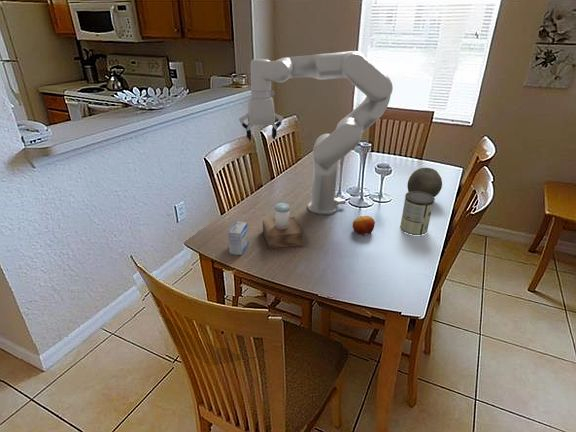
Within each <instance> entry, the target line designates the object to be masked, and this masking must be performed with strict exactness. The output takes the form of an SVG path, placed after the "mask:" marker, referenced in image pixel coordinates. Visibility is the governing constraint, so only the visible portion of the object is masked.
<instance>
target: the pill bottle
mask: <svg viewBox="0 0 576 432" xmlns="http://www.w3.org/2000/svg"><path fill="white" fill-rule="evenodd" d="M290 207H291V205H289V203H286V202H279V203H276V204H275V205H274V215H275V216H274V219H275V227H276V228H277V229H281V230H284V229H287V228H289V217H290V209H291V208H290Z"/></svg>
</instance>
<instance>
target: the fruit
mask: <svg viewBox="0 0 576 432" xmlns="http://www.w3.org/2000/svg"><path fill="white" fill-rule="evenodd" d="M375 224H376V222H375V219H374V218H373V217H372V216H370V215H364V216H357V217H356V218H355V219H354V220H353V222H352V229H353V231H354V232H355V234H357V235H360V236H362V237H364V236H365V235H371V236H373V234H372V233H373V231H374V229H375Z"/></svg>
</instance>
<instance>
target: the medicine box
mask: <svg viewBox="0 0 576 432" xmlns="http://www.w3.org/2000/svg"><path fill="white" fill-rule="evenodd" d="M248 226H249V225H248V223H247V222H243V221H235V222H234V224H233V225H232V226H231V228H230V230H229V231H228V233H227V234H228V247H229V254H231V255H237V256H238V255H239V256H242V255H243V254H244V252H245V251H246V249H247V246H248V245H249V227H248Z"/></svg>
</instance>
